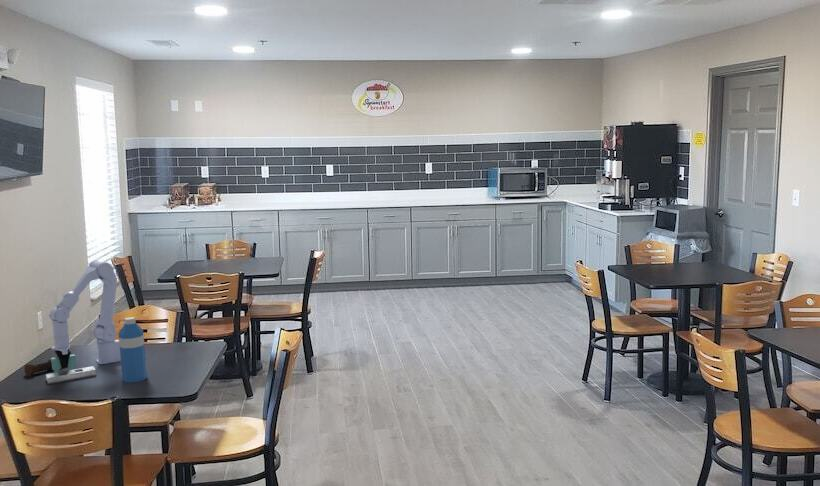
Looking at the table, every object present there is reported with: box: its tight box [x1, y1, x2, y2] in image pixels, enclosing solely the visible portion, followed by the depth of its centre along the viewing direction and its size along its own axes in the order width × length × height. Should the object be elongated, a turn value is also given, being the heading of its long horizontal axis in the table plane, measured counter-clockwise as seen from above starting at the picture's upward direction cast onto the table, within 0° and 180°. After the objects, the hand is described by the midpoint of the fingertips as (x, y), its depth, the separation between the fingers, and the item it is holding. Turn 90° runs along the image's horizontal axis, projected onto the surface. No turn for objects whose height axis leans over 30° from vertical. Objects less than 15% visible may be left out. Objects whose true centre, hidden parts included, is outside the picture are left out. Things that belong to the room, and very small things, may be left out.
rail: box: [45, 365, 97, 385], centre depth 313 cm, size 18×6×2 cm, turn 122°
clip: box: [50, 353, 77, 373], centre depth 321 cm, size 9×2×6 cm, turn 122°
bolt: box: [24, 358, 54, 377], centre depth 323 cm, size 6×5×15 cm
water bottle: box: [117, 316, 148, 383], centre depth 307 cm, size 9×9×25 cm
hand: (64, 367), depth 321 cm, fingers closed on clip, 2 cm apart
